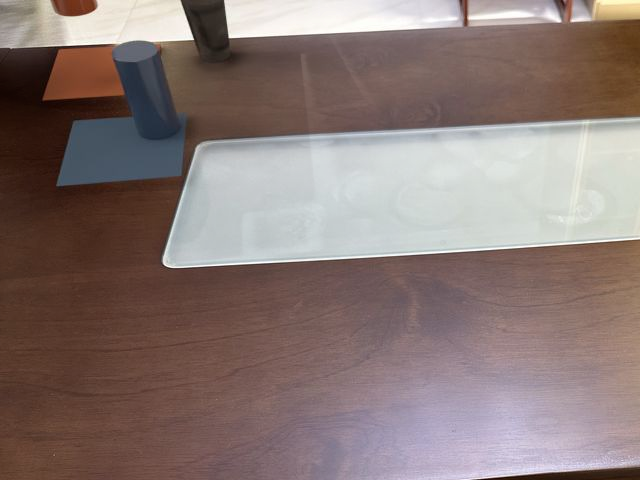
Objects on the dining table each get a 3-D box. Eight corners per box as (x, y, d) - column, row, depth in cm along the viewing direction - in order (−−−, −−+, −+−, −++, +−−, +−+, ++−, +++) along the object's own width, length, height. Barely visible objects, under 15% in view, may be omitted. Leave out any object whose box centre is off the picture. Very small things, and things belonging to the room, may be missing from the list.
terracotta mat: (43, 103, 103) (42, 100, 102) (60, 52, 112) (58, 49, 112) (154, 96, 105) (153, 93, 105) (161, 47, 115) (160, 43, 114)
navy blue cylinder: (135, 141, 97) (108, 63, 88) (139, 118, 100) (113, 41, 92) (179, 138, 97) (156, 60, 89) (181, 115, 101) (159, 38, 93)
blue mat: (57, 190, 90) (55, 186, 90) (75, 124, 100) (73, 120, 99) (182, 179, 92) (181, 175, 92) (188, 116, 102) (186, 112, 102)
